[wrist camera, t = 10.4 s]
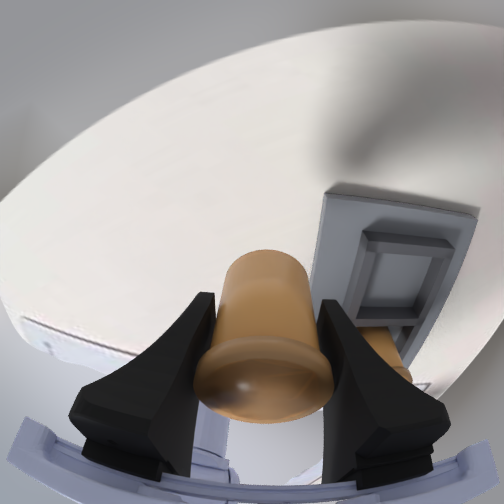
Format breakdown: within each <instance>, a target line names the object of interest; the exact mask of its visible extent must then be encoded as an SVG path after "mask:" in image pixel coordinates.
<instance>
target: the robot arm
mask: <svg viewBox="0 0 504 504" xmlns="http://www.w3.org/2000/svg"><path fill="white" fill-rule="evenodd" d="M215 322H216V311H215V294H214V293H209V292H199V293H198V294H197V295H196V297H195V298H194V299H193V301H192V302H191V303H190V305H189V306H188V307H187V308H186V310H185V311H184V312H183V313H182V314H181V315H180V317H179V318H178V319H177V320H176V321H175V322H174V323H173V324H172V326H171V327H170V328H169V329H168V330H167V331H166V332H165V333H164V334H163V335H162V336H161V337H160V338H159V339H157V340H156V341H155V342H154V343H153V344H152V345H151V346H150V347H148V348H147V349H146V350H145V351H144V352H142V353H141V354H140V355H138V356H137V357H136V358H134V359H133V360H132V361H130V362H129V363H127V364H126V365H124V366H123V367H121V368H119V369H118V370H116V371H114V372H113V373H111V374H109V375H107V376H105V377H103V378H101V379H99V380H97V381H95V382H93V383H91V384H88V385H86V386H84V387H82V388H81V390H80V392H79V393H78V395H77V397H76V399H75V401H74V404H73V406H72V408H71V410H70V413H69V415H68V416H69V419H70V421H71V422H72V424H73V425H74V426H75V427H76V428H77V429H78V430H79V431H80V432H81V433H82V434H83V435H84V436H85V437H86V438H87V439H86V442H85V444H84V447H80V446H78V445H76V444H73V443H71V442H68V441H66V440H64V439H62V438H60V437H57V436H56V434H55V433H54V432H53V431H52V430H50V429H49V428H48V427H46V426H44V425H43V424H41V423H39V422H37V421H35V420H33V419H31V418H29V417H27V416H26V417H25V418H24V420H23V423H22V425H21V427H20V429H19V431H18V433H17V435H16V438H15V440H14V442H13V445H12V447H11V449H10V451H9V454H8V456H7V461H8V462H9V463H11V464H12V465H13V466H15V467H16V468H18V469H19V470H21V471H22V472H24V473H25V474H27V475H28V476H30V477H32V478H33V479H35V480H36V481H38V482H40V483H42V484H43V485H45V486H47V487H48V488H50V489H52V490H54V491H56V492H57V493H59V494H61V495H63V496H65V497H67V498H69V499H71V500H73V501H75V502H77V503H79V504H237V503H238V502H239V503H240V502H241V503H257V504H302V503H318V502H329V501H338V500H343V501H339V502H337V503H336V504H463V503H465V502H467V501H469V500H471V499H473V498H475V497H477V496H479V495H481V494H482V493H484V492H486V491H488V490H490V489H491V488H493V487H495V486H497V485H498V484H499V483H500V482H499V477H498V474H497V469H496V466H495V462H494V458H493V455H492V452H491V449H490V445H489V442H488V440H487V439H485V440H483V441H480V442H478V443H475V444H473V445H471V446H468V447H467V448H465V449H464V450H462V451H461V452H459V453H458V454H457V455H456V456H453V457H450V458H448V459H444V460H442V461H438V462H435V463H432V459H431V455H430V454H432V453H433V452H434V450H433V446H432V444H433V443H434V442H436V441H437V440H438V439H439V438H440V437H442V436H443V435H444V434H445V433H446V432H447V431H448V429H449V427H450V426H451V423H450V420H449V416H448V413H447V410H446V408H445V405H444V404H443V403H442V402H440V401H438V400H436V399H435V398H433V397H431V396H429V395H428V394H426V393H424V392H423V391H421V390H420V389H419V388H417V387H416V386H414V385H413V384H411V383H410V382H409V381H407V380H406V379H405V378H404V377H402V376H401V375H400V374H399V373H398V372H396V371H395V370H394V369H393V368H392V367H391V366H390V365H389V364H388V363H387V362H386V361H385V360H384V359H382V358H381V357H380V356H379V355H378V353H377V352H376V351H375V350H374V349H373V348H372V347H371V346H370V344H369V343H368V342H367V341H366V340H365V338H364V337H363V336H362V335H361V333H360V332H359V331H358V329H357V328H356V327H355V325H354V324H353V323H352V321H351V320H350V318H349V317H348V316H347V314H346V313H345V311H344V310H343V308H342V307H341V306H340V304H339V303H338V301H337V300H335V299H322V302H321V306H320V311H319V315H318V319H317V323H316V328H317V334H318V341H319V347H320V352H321V353H322V354H323V355H324V356H325V357H326V358H327V359H328V361H329V363H330V365H331V368H332V374H333V381H334V392H333V395H332V397H331V398H330V400H329V401H328V402H327V403H326V404H325V405H324V406H323V416H324V452H323V471H322V483H321V484H317V485H295V486H267V485H246V484H240V481H239V476H238V474H237V473H236V472H235V470H234V469H233V468H229V460H228V459H225V454H226V446H227V438H228V430H229V422H230V418H228V417H225V416H222V415H220V414H218V413H216V412H214V411H212V410H211V409H209V408H208V407H206V406H205V405H204V404H203V403H202V402H201V401H200V400H199V399H198V397H197V396H196V394H195V392H194V388H193V381H194V376H195V372H196V368H197V364H198V362H199V360H200V358H201V357H202V356H203V355H204V354H205V353H206V352H207V351H208V350H209V349H210V346H211V341H212V336H213V332H214V327H215ZM346 499H347V500H346Z"/></svg>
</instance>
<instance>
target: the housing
mask: <svg viewBox="0 0 504 504" xmlns="http://www.w3.org/2000/svg"><path fill="white" fill-rule="evenodd" d="M477 221H478V220H477V219H476V218H475V217H473V216H472V215H469V214H464V213H459V212H454V211H449V210H443V209H438V208H432V207H426V206H420V205H414V204H407V203H401V202H394V201H387V200H380V199H372V198H364V197H356V196H348V195H339V194H329V193H324V198H323V205H322V211H321V218H320V224H319V231H318V237H317V243H316V249H315V255H314V260H313V266H312V271H311V277H310V282H309V286H310V292H311V298H312V304H313V309H314V315H315V322H316V323H317V319H318V315H319V311H320V306H321V302H322V299H335V300H337V301H338V303H339V304H340V306H341V307H342V308H343V310H344V311H345V313H346V314H347V316H348V317H349V318H350V320H351V321H352V323H353V324H354V325H355V327H378V326H388V329H389V331H390V333H391V336H392V338H393V341H394V343H395V346H396V348H397V351H398V353H399V356H400V358H401V361H402V363H403V366H404V367H405V368H407V369H408V367H409V366H410V364H411V363H412V361H413V360H414V358H415V356H416V355H417V353H418V351H419V350H420V348H421V346H422V345H423V343H424V341H425V340H426V338H427V336H428V334H429V332H430V331H431V329H432V327H433V325H434V323H435V321H436V319H437V318H438V316H439V314H440V312H441V310H442V308H443V306H444V304H445V302H446V300H447V297H448V295H449V293H450V291H451V289H452V287H453V284H454V282H455V280H456V278H457V275H458V273H459V271H460V268H461V266H462V263H463V261H464V258H465V256H466V253H467V250H468V248H469V245H470V242H471V239H472V237H473V234H474V231H475V228H476V225H477Z"/></svg>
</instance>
